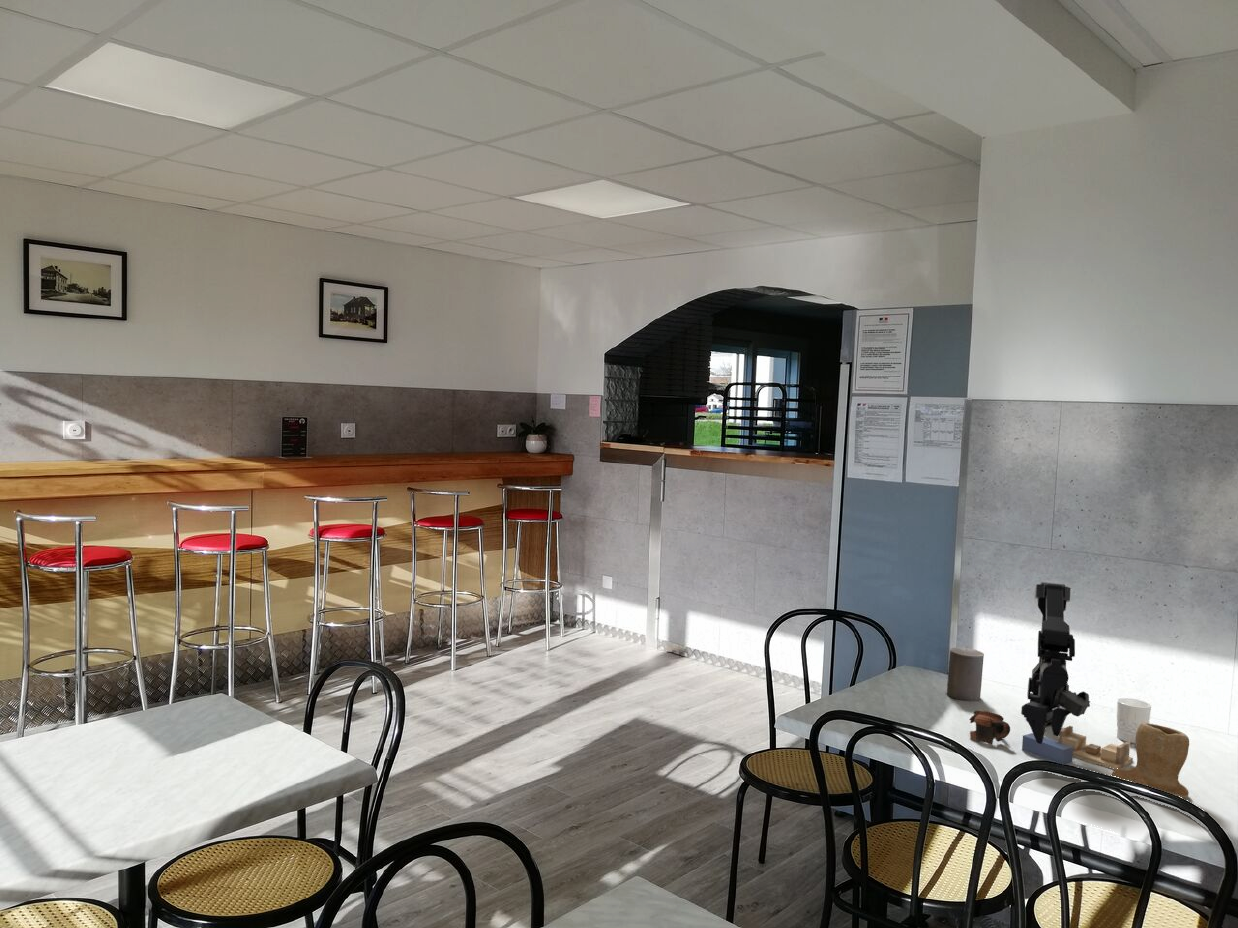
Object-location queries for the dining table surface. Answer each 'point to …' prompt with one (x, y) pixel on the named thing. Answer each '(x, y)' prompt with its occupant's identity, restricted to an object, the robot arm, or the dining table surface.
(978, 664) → the pillar candle
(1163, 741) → the stone cup
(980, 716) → the pottery mug
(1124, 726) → the white cup
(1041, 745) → the tall slate-blue box
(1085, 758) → the display cradle
